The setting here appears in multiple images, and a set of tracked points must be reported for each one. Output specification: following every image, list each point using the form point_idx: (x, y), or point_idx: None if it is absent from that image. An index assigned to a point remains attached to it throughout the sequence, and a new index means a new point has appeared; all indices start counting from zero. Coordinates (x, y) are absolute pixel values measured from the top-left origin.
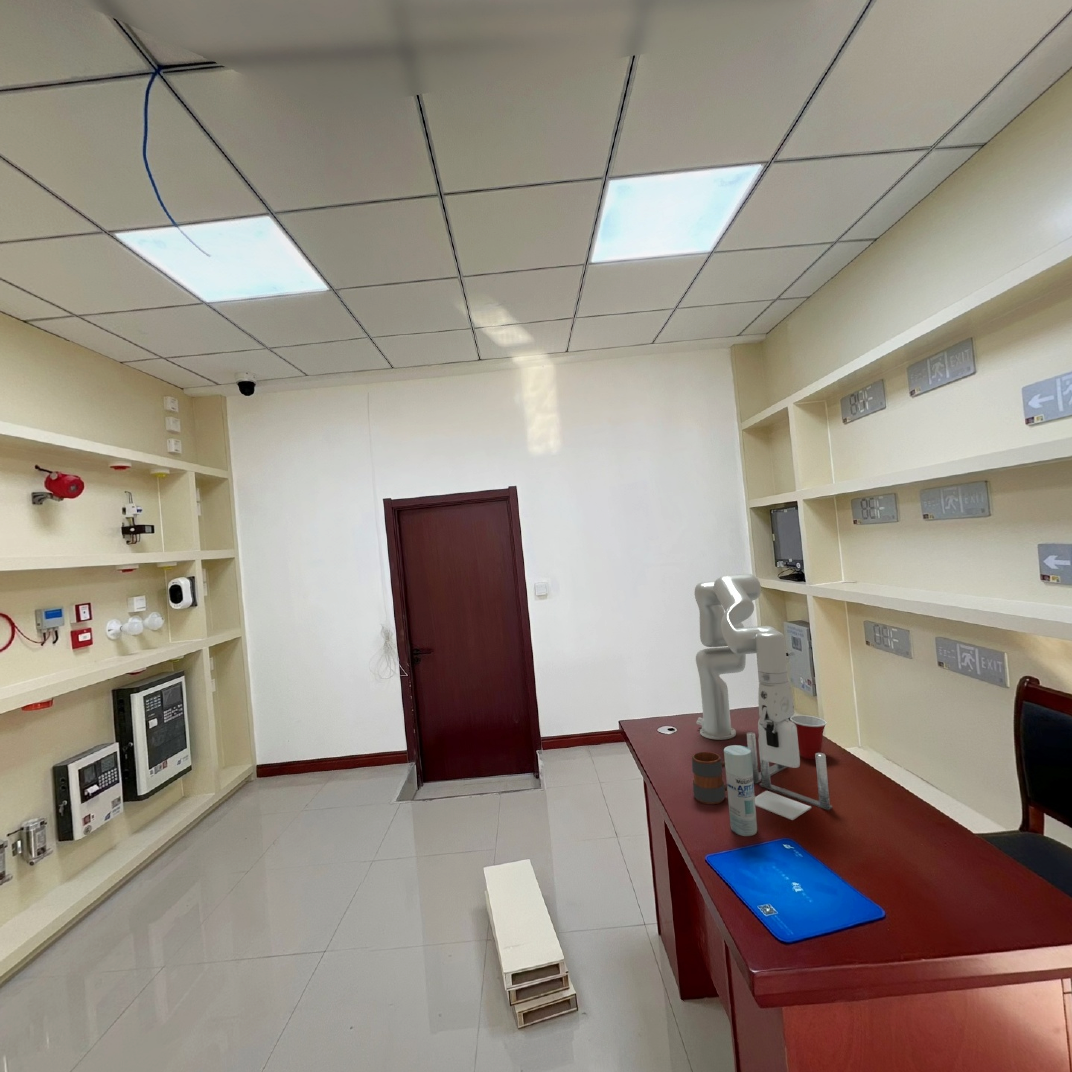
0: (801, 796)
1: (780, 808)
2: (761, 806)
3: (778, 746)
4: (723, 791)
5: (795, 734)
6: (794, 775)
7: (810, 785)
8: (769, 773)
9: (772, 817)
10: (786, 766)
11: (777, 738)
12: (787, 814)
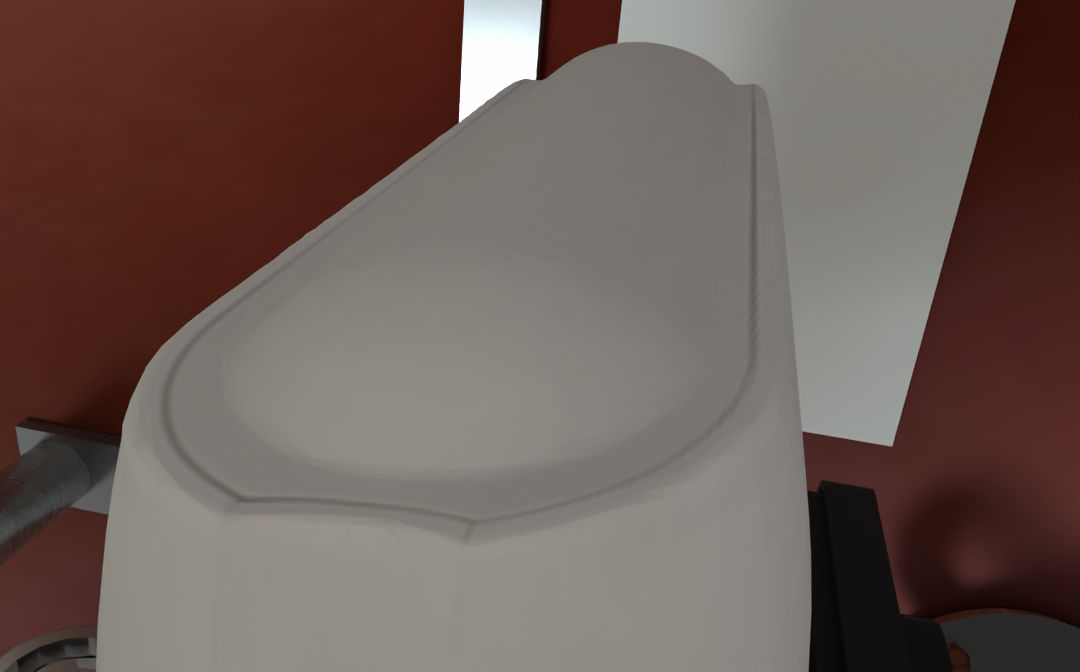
0: (488, 90)
1: (862, 148)
2: (929, 308)
3: (837, 486)
4: (1017, 661)
5: (541, 221)
6: (130, 321)
7: (197, 134)
8: None
9: (1072, 141)
10: (50, 429)
11: (881, 632)
12: (959, 34)
